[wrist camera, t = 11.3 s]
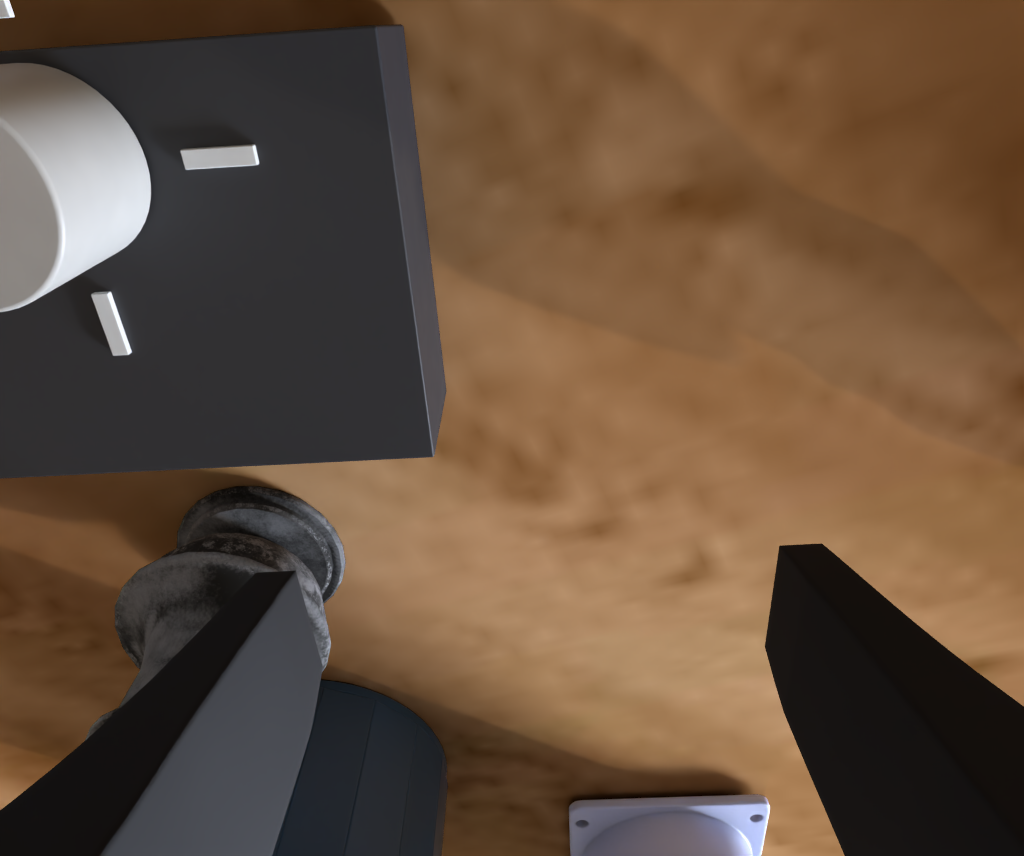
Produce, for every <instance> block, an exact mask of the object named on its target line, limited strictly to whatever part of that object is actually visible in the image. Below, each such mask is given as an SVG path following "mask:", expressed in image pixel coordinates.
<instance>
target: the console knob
mask: <svg viewBox="0 0 1024 856" xmlns="http://www.w3.org/2000/svg"><path fill="white" fill-rule="evenodd" d="M150 201H151V182H150V174H149V169H148V165H147V161H146V158H145V156H144V153H143V150H142V148H141V146H140V144H139V142H138V139H137V137H136V136H135V134H134V132H133V131H132V129H131V128H130V126H129V124H128V123H127V122H126V120H125V119H124V118H123V117H122V115H121V114H120V113H119V112H118V110H117V109H116V108H115V107H114V106H113V105H112V104H111V103H110V102H109V101H108V100H107V99H106V98H104V97H103V96H102V95H101V94H100V93H99V92H97V91H96V90H95V89H93V88H92V87H91V86H89V85H88V84H86V83H85V82H83V81H81V80H80V79H78V78H76V77H74V76H72V75H71V74H68V73H66V72H63V71H61V70H59V69H56V68H52V67H49V66H45V65H40V64H33V63H10V64H0V312H5V311H10V310H13V309H17V308H20V307H23V306H25V305H27V304H29V303H31V302H33V301H35V300H36V299H38V298H40V297H42V296H43V295H45V294H47V293H49V292H50V291H52V290H54V289H55V288H57V287H59V286H61V285H62V284H64V283H66V282H68V281H69V280H71V279H73V278H74V277H76V276H78V275H80V274H81V273H83V272H85V271H86V270H88V269H90V268H92V267H93V266H95V265H97V264H99V263H100V262H102V261H104V260H105V259H107V258H109V257H111V256H112V255H114V254H116V253H118V252H119V251H121V250H122V249H124V248H125V247H127V246H128V245H129V244H130V243H131V242H132V241H133V240H134V239H135V238H136V236H137V235H138V234H139V232H140V231H141V229H142V227H143V225H144V223H145V221H146V218H147V215H148V212H149V207H150Z"/></svg>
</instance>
